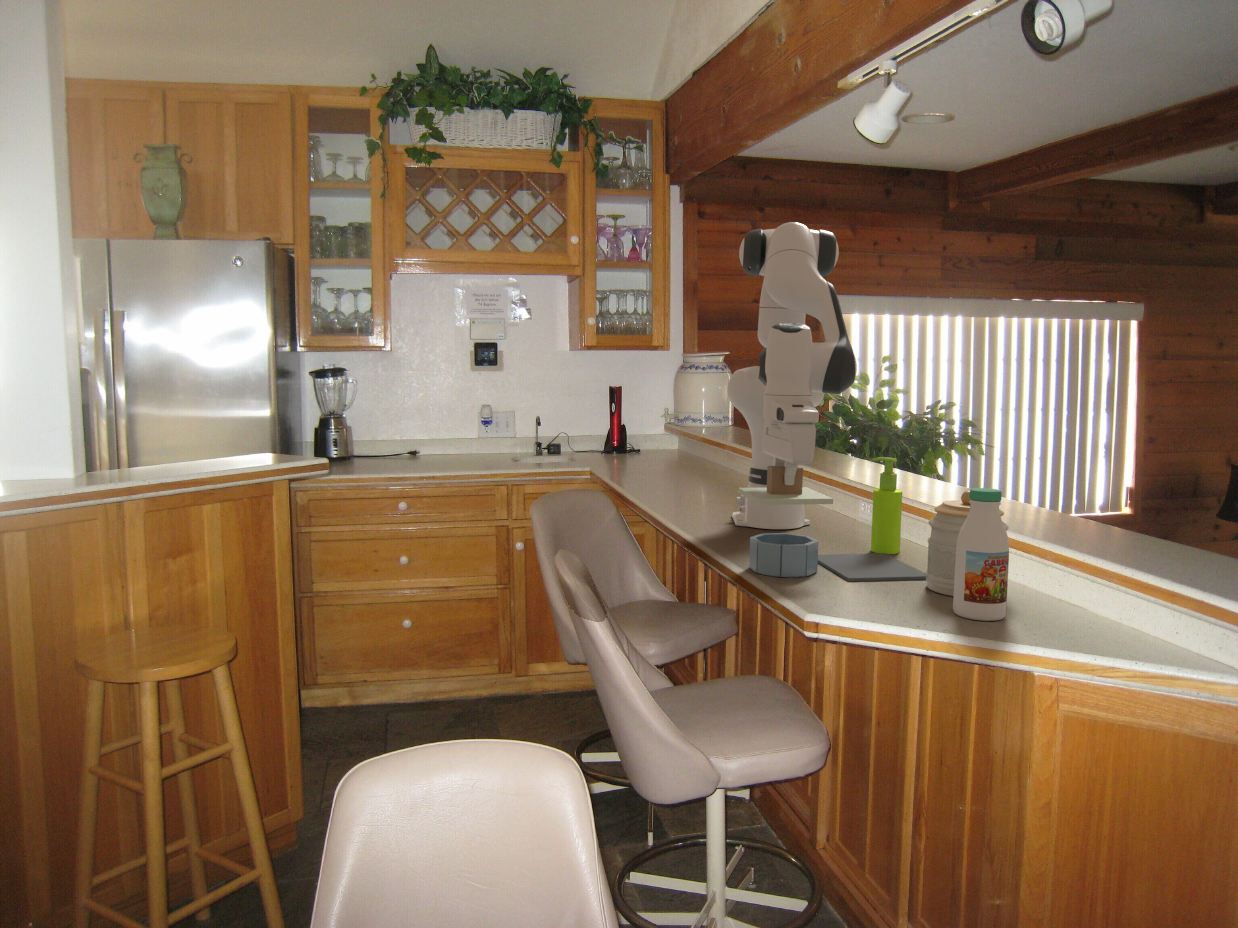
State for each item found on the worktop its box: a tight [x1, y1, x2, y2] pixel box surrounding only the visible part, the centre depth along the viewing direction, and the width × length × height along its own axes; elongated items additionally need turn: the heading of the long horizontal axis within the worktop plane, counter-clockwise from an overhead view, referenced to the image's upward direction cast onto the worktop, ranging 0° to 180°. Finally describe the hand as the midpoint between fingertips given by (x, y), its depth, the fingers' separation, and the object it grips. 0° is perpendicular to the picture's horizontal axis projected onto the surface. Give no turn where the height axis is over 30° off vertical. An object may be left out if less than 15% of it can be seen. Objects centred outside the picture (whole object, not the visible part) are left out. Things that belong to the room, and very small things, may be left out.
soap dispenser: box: [869, 456, 903, 555], centre depth 183 cm, size 6×7×20 cm
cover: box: [738, 465, 834, 505], centre depth 165 cm, size 14×14×6 cm
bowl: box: [748, 532, 819, 578], centre depth 166 cm, size 12×12×6 cm
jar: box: [925, 490, 1009, 597], centre depth 151 cm, size 13×13×18 cm
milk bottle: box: [952, 487, 1010, 622], centre depth 135 cm, size 8×8×20 cm
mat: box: [818, 553, 926, 582], centre depth 168 cm, size 20×16×1 cm
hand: (784, 483), depth 165 cm, fingers closed on cover, 3 cm apart
